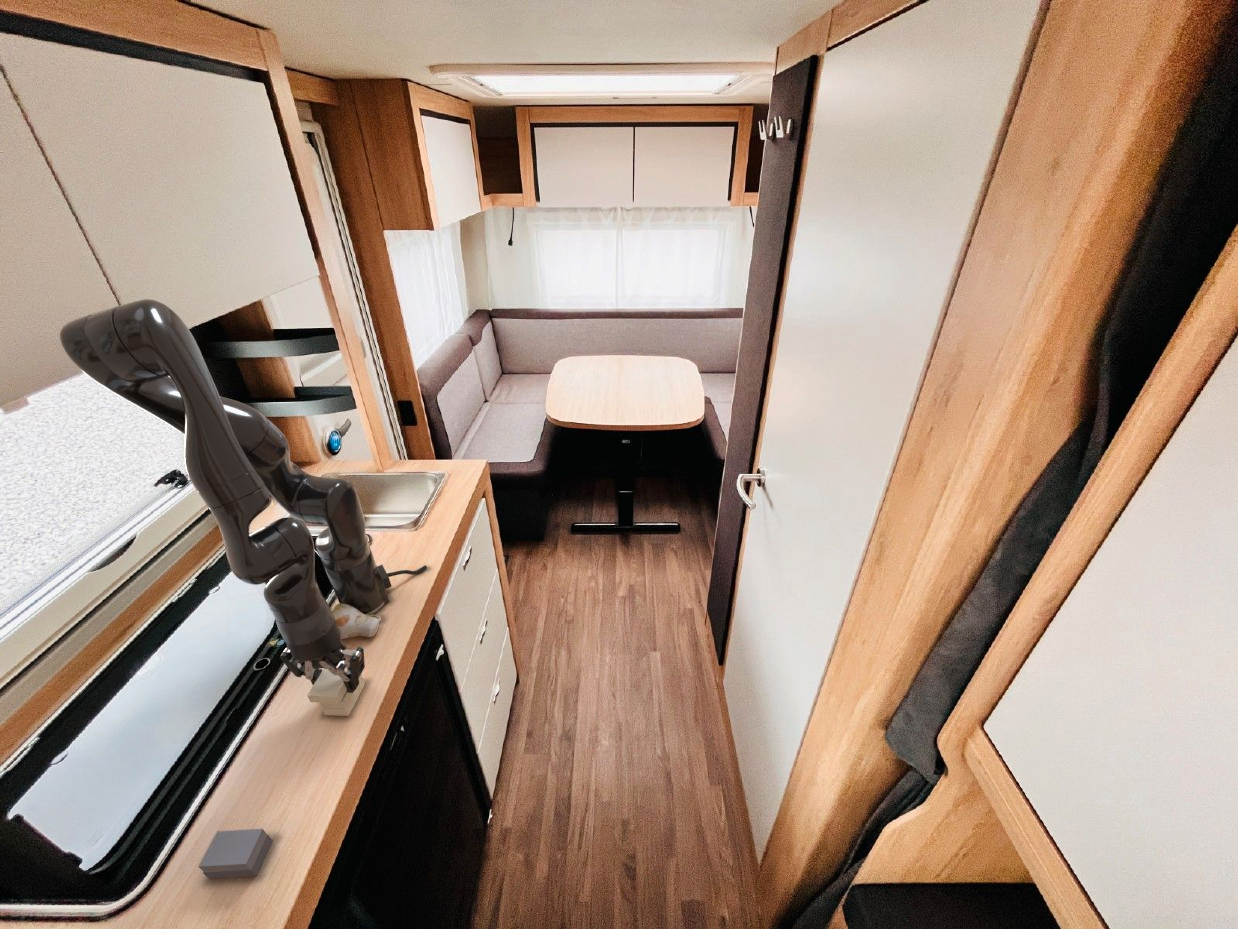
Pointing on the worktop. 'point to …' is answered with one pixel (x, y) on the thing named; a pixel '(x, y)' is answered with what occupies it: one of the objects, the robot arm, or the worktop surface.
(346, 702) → the white stack
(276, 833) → the worktop surface
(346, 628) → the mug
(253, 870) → the grey stack
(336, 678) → the white book
